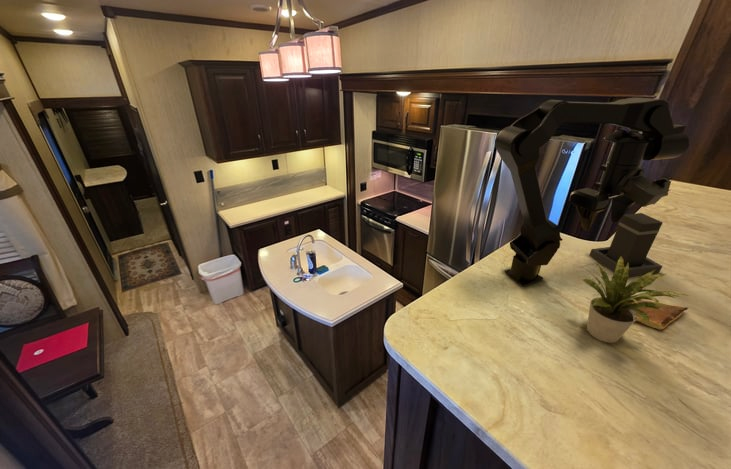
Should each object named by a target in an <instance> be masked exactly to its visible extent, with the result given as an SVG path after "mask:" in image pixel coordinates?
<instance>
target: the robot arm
mask: <svg viewBox="0 0 731 469" xmlns="http://www.w3.org/2000/svg"><path fill="white" fill-rule="evenodd" d="M669 104H670V102H669V100H666V99H664V98H647V97H629V98H623V99H618V100H615V101H610V102H591V101H590V102H589V101H566V100H561V99H559V100H558V99H548V100H546V101H544V102H543V103H541V104H540V105H539V106H538V107H537V108H535V109H534V110H532V111H530V112H528V113H527V114H525V115H524V116H521V117H520V118H518V119H516V120H515V121H514V122H513V123H512V124H510V125H509V126H506V127H504V128H503V129H501V130H500V131H499V133H498V134H497V135H496V137H495V139H494V147H495V149H496V151H497V153H498V155H499V158H500V159H501V160H502V162H503V163H504V165H505V166H506V167H507V169H508V170H509V172H510V175H511V179H512V183H513V186H514V190H515V194H516V198H517V202H518V204H519V209H520V212H521V213H520V214H521V216H522V222H523V223H522V224H521V226H520V228H519V229H520V233H519V234H518V235H517V236H516V237H515V238H513V239H512V240H511V241H510V242H509V246H510V247H509V248H510V249H511V250H512V251H513V252H514V253H515V255H513V256H512V262H511V266H510V268H509V269H506V270H504V272H505V274H506V275H507V276H509V277H510V278H511V279H512V280H514V281H515V282H517V283H518V284H519V285H521V286H523V287H524V286H528V285H532V284H534V283H538V282H540V281H543V280H544V277H543V276H541V275H540V271H541V269H542V266H547V265H549V263H550V262H551V260H552V259H553V257H555V255H556V253H557V252H558V250H559V249H560V247H561V241H564V239H563V238H562V237H561V228H560V226H559V225H558V224H556V223H554V221H551V220H550V219H549V218H548V217H547V215H546V214H547V213H546V211H545V205H544V201H543V196H542V191H541V187H540V182H539V177H538V173H537V164H538V162H539V159H540V157H541V148H542V147H543V146H544V145H545V144H547V143H548V142H549V141H550V140H551V139H552V137H553V136H554V135H555V132H556V131H557V130H558V128H559V127H560V126H561V125H562V124H564V123H565V124H566V123H568V124H569V123H570V124H601V125H603V124H605V125H606V124H607V125H611V126H615V127H619V128H625V129H627V130H628V131H627V130H625V129H618V128H617V129H615V130H614V131H613V132H611V133H610V134H608V135H607V136H605V137H604V138H603V139H604V141H606V142H609V143H611V144H612V145H611V147H610V150H609V152H608V153H609V154H608V156H607V159H606V162H605V163H604V164H600V165H599V169H598V170H599V171H602V174H601V177H600V180H599V181H596V182H594V184H593V188H595V189H593V188H589V187H585V188H580V189H576V190H574V191H572V192H570V195H569V199H568V202H569V203H572V205H574V206H575V207H576V211H577V213H578V216H579V220H580V223H581V227H582V230H584V231H586V232H589V231H590V229H591V228H592V226H593V224H594V222H595V220H596V217H597V216H598V214H599V213H600V212H603V211H605V210H607V205H609V202H610V199H611V210H610V222H612V223H614V224H617V223H619V222H620V220H621V218H622V216H623V215H626V214H627V212H628V211H629V210H630V208H632V206H633V205H634V204H635V205H637V206H639V207H641V208H646V207H648V206H652V205H656V204H657V203H658V202H659V201H660V200H661V199H662V198H664V197H668V195H669V192H670V191H671V190H670V188H671V183H672V181H671V180H670V179H669V178H666V177H661V178H658V179H655V180H654V179H653V178H647V177H645V176H644V175H645V172H646V170H645V167H641V165H642V162H643V161H655V160H658V161H659V160H668V159H676V158H679V157H681V156H683V155H684V154H685V153H686V152H687V150H688V149H689V147H690V139H689V135H688V134H687V133H686V132H685V131H686V128H687V125H681V124H674V123H673V119H672V115H671V112H670V105H669ZM596 189H598V190H596Z"/></svg>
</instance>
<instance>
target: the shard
mask: <svg viewBox="0 0 731 469" xmlns="http://www.w3.org/2000/svg"><path fill="white" fill-rule="evenodd" d="M638 302H652V300H644V299H642V300H639V301H637V303H638ZM634 303H635V302H634ZM665 304H666V303H665ZM666 305H669V306H664V305H658V306H659V307H660V308H661V309H662V310H660V309H651V308H638V309H640V310H642V311H643V312H645V313H646V314H647V315H648V317H649V324H648V323H647V322H646V320H645V321H644V320H642V319H641V318H640V317H639V316H637V320H636V321H635V322H639V323H642V324H644V325H646V326H648V327H650V328H654V329H657V330H660V331H661V330H665V328H666V327H667V326H668V325H671V323H672V322H673V321H676V320H677V319H679V318H680V317H682V315H683V314H684V312H685V311H687V310H689V307H686V306H679V305H672V304H666ZM670 306H671V307H670ZM635 313H636V312H635ZM636 314H638V313H636Z"/></svg>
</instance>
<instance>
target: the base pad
mask: <svg viewBox="0 0 731 469" xmlns="http://www.w3.org/2000/svg"><path fill="white" fill-rule="evenodd" d="M609 248H610V246H605V247H598V248H591V250H590V252H589V257H590V258H592V259H593V260H595V261H596V262H597V263H598V264H600V265H601V266H604V267H605V268H607V269H608V270H610V271H611V272H612V273H614V272H615V269H616V265H617V263H616V262H615V261H613V260H612V259H610V258H609V257H607V256H606V255H607V253H608V250H609ZM662 268H663V265H661V264H660V263H658V262H656V261H654V260H652V258H651V259H650V258H649V257H647V256H646V258H645V260H644V263H643V265H642V266H639V267H631V268H629V270H628V278H632V277H633V278H634V277H642V276H643V275H645V274H647V273H649V272H651V271H653V270H655V271H654V272H653V274H652V275H656V274H660V272H661V271H662Z"/></svg>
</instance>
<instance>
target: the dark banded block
mask: <svg viewBox="0 0 731 469" xmlns="http://www.w3.org/2000/svg"><path fill="white" fill-rule="evenodd" d="M662 226H663V221H661V220H659V219H657V218H654V217H651V216H649V215H648V214H645V213H642V212H637V213H628V214H627V213H625V214H624V215H623V216H622V217H621V218H620V220H619V221H618V226H617V227H616V230H615V233H614V236H613V238H612V240H611V243H610V246H609V247H610V248H609V250H608V253H607V255H606V256H607V257H609V258H610V259H612V260H613V261H615V262H616V263H617V262H618V260H619V258H620V256H621V257H622V258H623V261H624V266H625V267H626V265H627V263H628V264H629V268H631V267H639V266H642V265H643V263H644V260H645V258H646V257H647V256H648V254H649V252H650V250H651V248H652V246H653V244H654V242H655V240H656V238H657V236H658V234H659V232H660V230H661V228H662Z"/></svg>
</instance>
